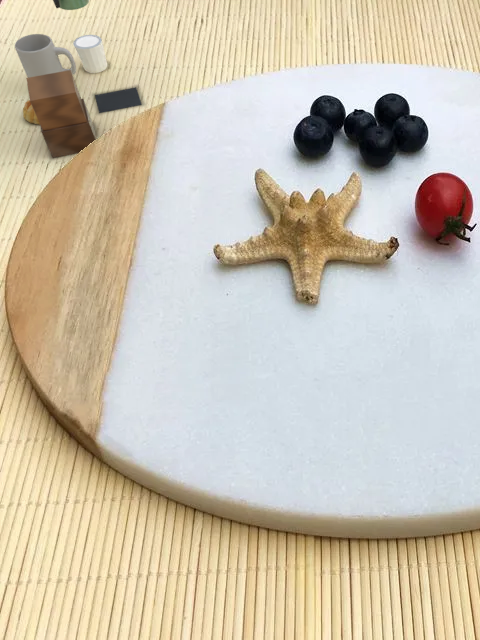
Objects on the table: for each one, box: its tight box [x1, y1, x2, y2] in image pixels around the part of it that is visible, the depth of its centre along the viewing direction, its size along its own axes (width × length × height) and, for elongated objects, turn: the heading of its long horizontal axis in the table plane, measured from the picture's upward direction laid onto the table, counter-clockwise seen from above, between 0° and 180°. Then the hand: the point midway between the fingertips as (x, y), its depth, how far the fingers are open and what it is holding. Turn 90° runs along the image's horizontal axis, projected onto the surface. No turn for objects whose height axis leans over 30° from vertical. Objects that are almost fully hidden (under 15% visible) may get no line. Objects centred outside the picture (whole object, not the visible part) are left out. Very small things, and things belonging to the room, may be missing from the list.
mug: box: [14, 33, 77, 78], centre depth 162 cm, size 12×8×11 cm
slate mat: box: [94, 87, 143, 114], centre depth 163 cm, size 10×8×1 cm
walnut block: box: [25, 70, 97, 159], centre depth 148 cm, size 10×10×14 cm
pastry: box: [22, 99, 40, 125], centre depth 157 cm, size 9×7×4 cm
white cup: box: [72, 34, 108, 74], centre depth 169 cm, size 7×7×7 cm
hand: (75, 0), depth 138 cm, fingers closed on green canister, 6 cm apart
